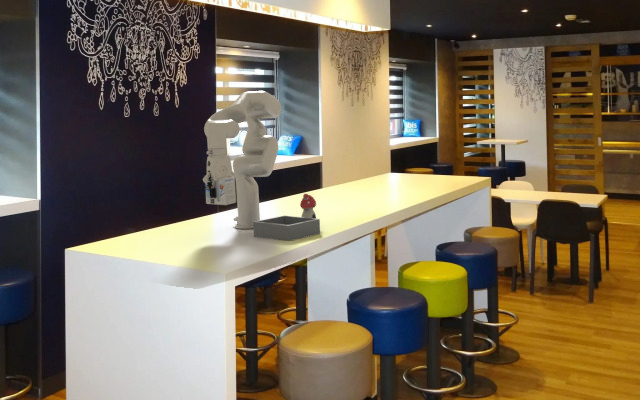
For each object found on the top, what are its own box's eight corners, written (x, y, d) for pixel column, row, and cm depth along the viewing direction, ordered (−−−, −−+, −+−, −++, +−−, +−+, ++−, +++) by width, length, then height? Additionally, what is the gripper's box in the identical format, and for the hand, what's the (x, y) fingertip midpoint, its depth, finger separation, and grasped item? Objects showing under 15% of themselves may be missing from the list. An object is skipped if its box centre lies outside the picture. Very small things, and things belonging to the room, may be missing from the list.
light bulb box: (205, 204, 282) (203, 177, 281) (216, 201, 288) (214, 175, 286) (226, 205, 277) (224, 178, 275) (236, 202, 282) (235, 176, 281)
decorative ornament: (308, 229, 295) (307, 194, 293) (296, 228, 298) (294, 193, 296) (321, 226, 302) (320, 191, 300) (309, 225, 306) (308, 191, 304)
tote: (254, 236, 284) (253, 221, 283) (285, 229, 297) (284, 215, 297) (289, 240, 271) (288, 225, 270) (320, 233, 284) (319, 218, 283)
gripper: (206, 155, 270) (210, 200, 273) (240, 150, 283) (243, 193, 286) (194, 154, 275) (197, 199, 278) (228, 150, 288) (231, 192, 291)
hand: (220, 196), depth 282 cm, fingers closed on light bulb box, 7 cm apart
